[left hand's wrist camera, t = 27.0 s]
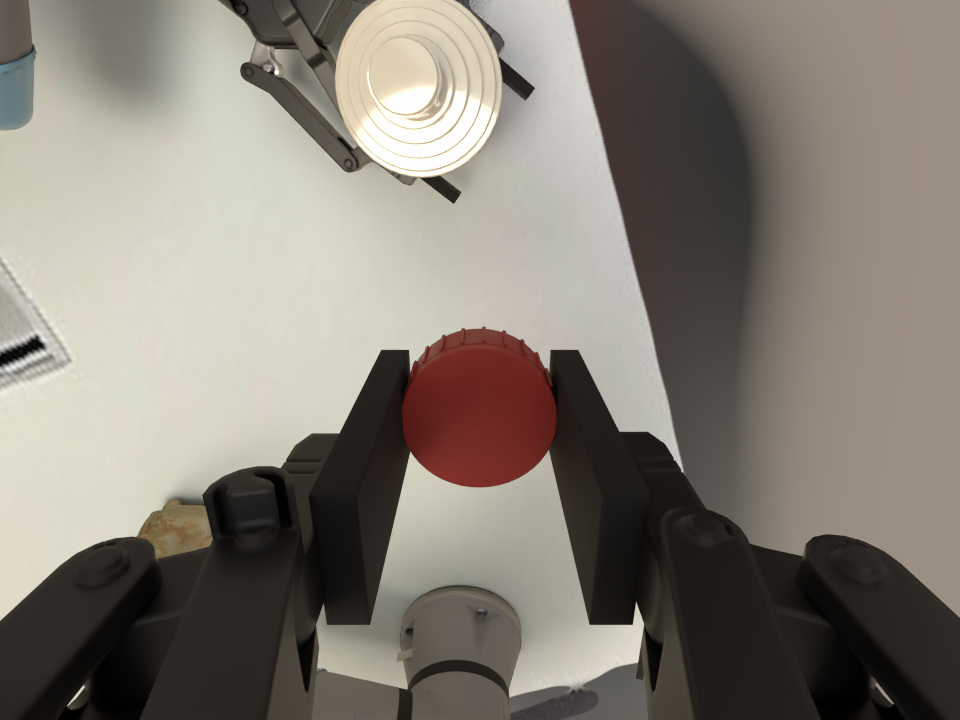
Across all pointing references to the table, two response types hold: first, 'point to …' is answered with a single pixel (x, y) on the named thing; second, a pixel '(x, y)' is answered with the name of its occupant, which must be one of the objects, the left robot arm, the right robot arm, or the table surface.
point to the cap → (479, 408)
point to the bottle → (418, 85)
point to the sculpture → (177, 529)
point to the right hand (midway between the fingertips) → (492, 147)
